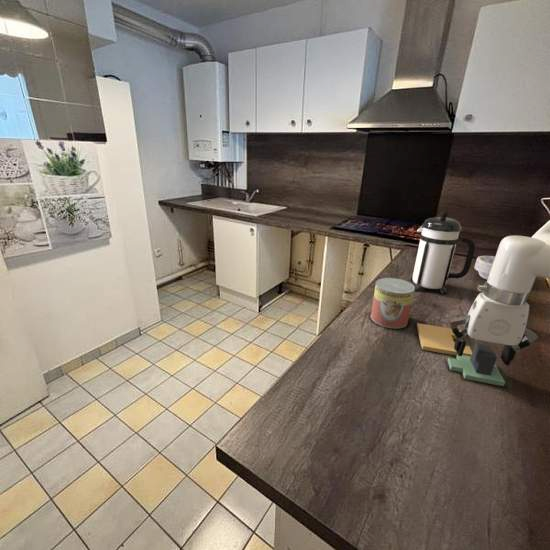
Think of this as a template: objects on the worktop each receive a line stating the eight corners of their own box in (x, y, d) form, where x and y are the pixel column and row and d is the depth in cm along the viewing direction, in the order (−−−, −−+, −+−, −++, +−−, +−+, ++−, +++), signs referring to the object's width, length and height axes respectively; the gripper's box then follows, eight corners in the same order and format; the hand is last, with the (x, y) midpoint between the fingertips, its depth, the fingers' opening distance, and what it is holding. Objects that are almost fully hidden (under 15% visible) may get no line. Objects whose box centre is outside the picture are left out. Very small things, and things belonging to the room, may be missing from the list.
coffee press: (432, 299, 106) (452, 217, 94) (399, 282, 119) (412, 209, 108) (464, 291, 112) (486, 213, 101) (429, 276, 126) (445, 206, 114)
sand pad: (460, 333, 86) (461, 329, 86) (472, 358, 76) (473, 354, 75) (416, 326, 89) (417, 323, 89) (422, 349, 79) (423, 345, 78)
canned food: (369, 324, 90) (374, 289, 86) (371, 307, 100) (376, 275, 95) (408, 331, 87) (416, 296, 82) (407, 313, 96) (414, 280, 92)
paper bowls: (501, 272, 131) (506, 255, 127) (524, 286, 117) (531, 268, 113) (465, 270, 132) (470, 254, 129) (484, 284, 118) (490, 266, 115)
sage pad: (491, 364, 74) (499, 342, 71) (503, 386, 67) (513, 363, 64) (445, 355, 76) (451, 335, 74) (452, 376, 69) (459, 354, 67)
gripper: (464, 294, 62) (444, 358, 69) (563, 308, 57) (531, 376, 64) (456, 280, 69) (438, 340, 75) (544, 292, 64) (516, 355, 71)
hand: (480, 357), depth 70 cm, fingers open, 9 cm apart
